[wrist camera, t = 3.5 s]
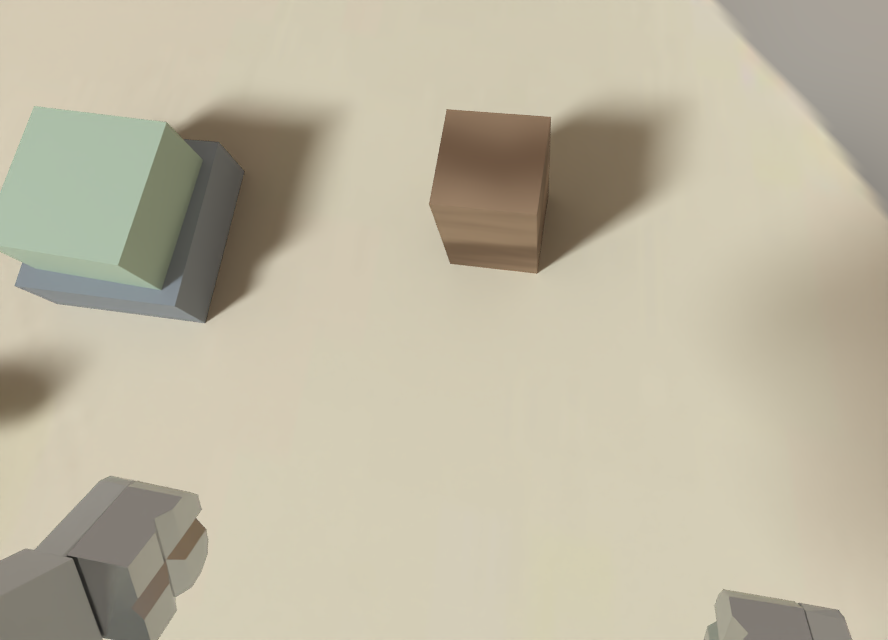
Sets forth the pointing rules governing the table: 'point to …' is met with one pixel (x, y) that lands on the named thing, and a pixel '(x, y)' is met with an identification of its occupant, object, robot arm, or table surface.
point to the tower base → (190, 260)
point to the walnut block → (492, 189)
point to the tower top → (97, 196)
